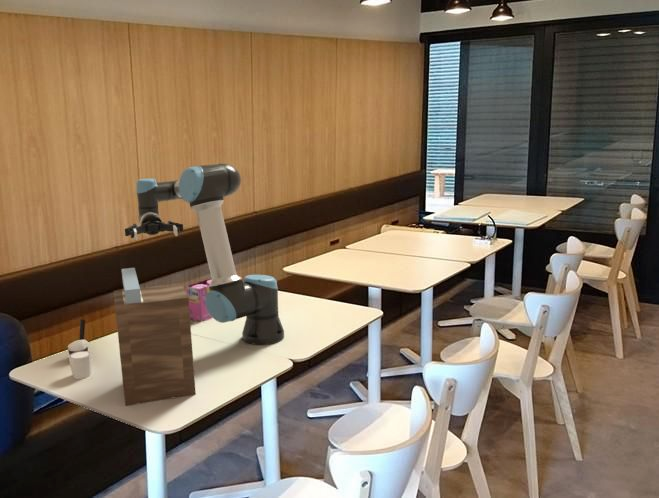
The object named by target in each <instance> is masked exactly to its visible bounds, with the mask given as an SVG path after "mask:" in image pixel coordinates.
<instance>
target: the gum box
mask: <svg viewBox="0 0 659 498" xmlns="http://www.w3.org/2000/svg"><path fill="white" fill-rule="evenodd" d="M211 281H212V278H211V277H210V278H206V279H203V280H201V281H198V282H197V281H196V282H195V283H192V284H188V285H186V286H185V292H186V294H187V296H188V299H189V313H190V320H194V321H199V322H205V321H206V320H210V319H211V318H213V317H212V316H211V315H210V314H209V312H208V310H207V307H206V303H205V299H206V294H207V293H208V292H209V291H210V289H209V285H210V283H211Z"/></svg>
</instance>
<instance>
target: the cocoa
mask: <svg viewBox="0 0 659 498" xmlns="http://www.w3.org/2000/svg"><path fill="white" fill-rule="evenodd" d="M79 325H80V326H79V340H77V339H76V340H74V341H73V342H71V343H69V344H68V346H67V350H68V354H69V355H70V354H72V353H75V352H79V351H89V341H87V340H86V339H85V329H86V328H85V327H86V326H85V325H86V320H85V319H80V322H79Z"/></svg>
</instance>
